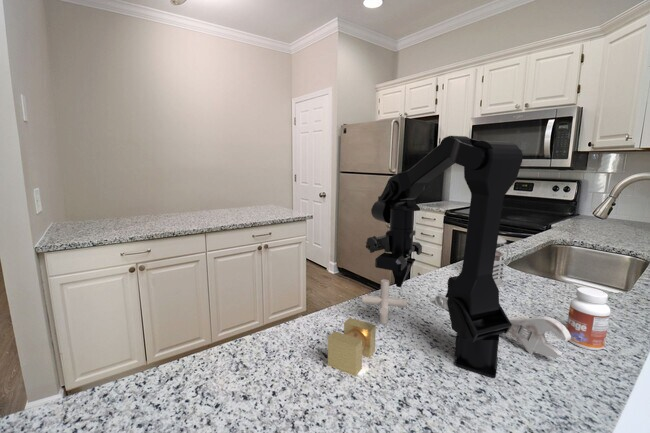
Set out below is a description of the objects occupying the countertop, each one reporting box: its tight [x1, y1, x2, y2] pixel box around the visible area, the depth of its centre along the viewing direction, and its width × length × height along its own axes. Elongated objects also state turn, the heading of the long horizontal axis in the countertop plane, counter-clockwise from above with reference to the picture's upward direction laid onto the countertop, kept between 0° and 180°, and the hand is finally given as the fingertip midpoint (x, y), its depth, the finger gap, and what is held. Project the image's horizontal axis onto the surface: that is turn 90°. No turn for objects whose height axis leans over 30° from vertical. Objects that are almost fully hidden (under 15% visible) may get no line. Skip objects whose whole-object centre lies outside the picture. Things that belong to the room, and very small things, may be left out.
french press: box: [493, 235, 513, 289], centre depth 93 cm, size 10×12×25 cm
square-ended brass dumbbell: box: [327, 317, 377, 377], centre depth 57 cm, size 8×6×6 cm, turn 148°
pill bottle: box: [566, 286, 611, 351], centre depth 62 cm, size 6×6×11 cm
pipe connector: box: [361, 278, 408, 325], centre depth 70 cm, size 10×10×10 cm
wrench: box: [434, 294, 571, 358], centre depth 67 cm, size 8×2×30 cm
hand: (398, 286), depth 78 cm, fingers closed
